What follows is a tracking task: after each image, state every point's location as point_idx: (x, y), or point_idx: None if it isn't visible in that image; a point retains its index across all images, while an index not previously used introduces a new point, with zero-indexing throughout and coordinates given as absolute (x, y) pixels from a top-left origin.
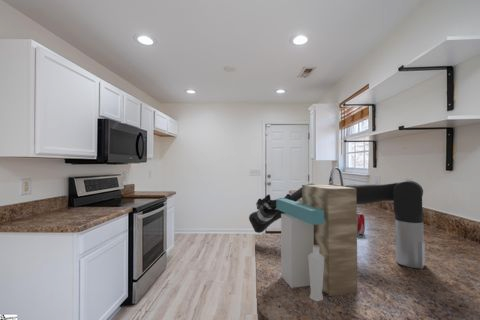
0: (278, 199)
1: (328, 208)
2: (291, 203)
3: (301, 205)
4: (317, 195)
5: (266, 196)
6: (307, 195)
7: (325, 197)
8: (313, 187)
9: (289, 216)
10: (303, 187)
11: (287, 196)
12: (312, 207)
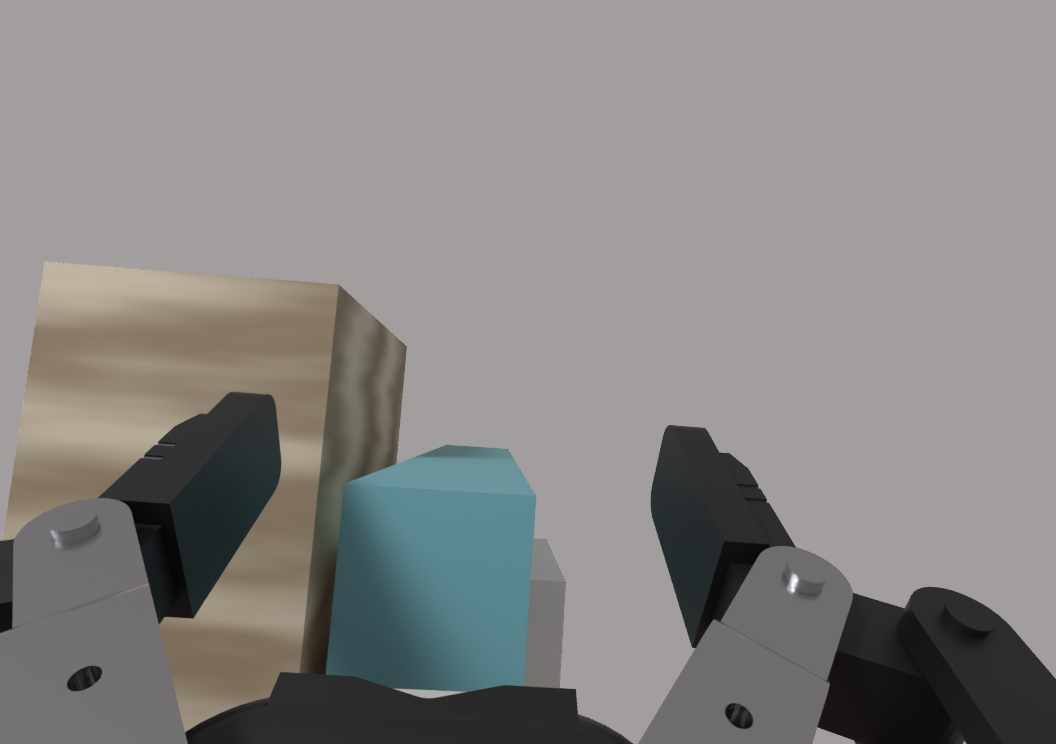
0: (527, 485)
1: (397, 441)
2: (503, 460)
3: (476, 453)
4: (384, 382)
5: (731, 468)
6: (354, 388)
7: (399, 389)
8: (379, 328)
9: (534, 551)
10: (344, 314)
11: (259, 450)
12: (452, 448)
